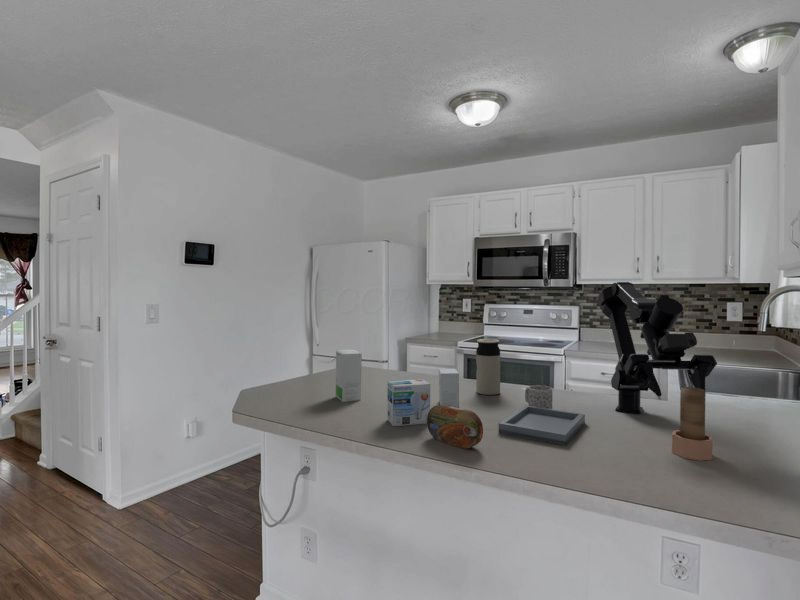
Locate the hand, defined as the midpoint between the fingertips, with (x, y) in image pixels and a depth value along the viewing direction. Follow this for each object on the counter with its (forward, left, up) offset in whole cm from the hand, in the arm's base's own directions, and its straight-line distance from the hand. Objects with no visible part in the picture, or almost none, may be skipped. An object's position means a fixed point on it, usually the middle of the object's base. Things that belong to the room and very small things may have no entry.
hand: (681, 396), depth 101 cm
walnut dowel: (+4, +2, -11) cm, 12 cm away
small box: (-3, -61, -12) cm, 62 cm away
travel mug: (-24, -57, -12) cm, 63 cm away
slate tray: (+4, -30, -11) cm, 32 cm away
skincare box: (+8, -92, -12) cm, 93 cm away
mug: (-13, -37, -12) cm, 41 cm away
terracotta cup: (+4, +2, -11) cm, 12 cm away
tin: (+26, -44, -12) cm, 52 cm away
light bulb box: (+18, -62, -12) cm, 66 cm away
